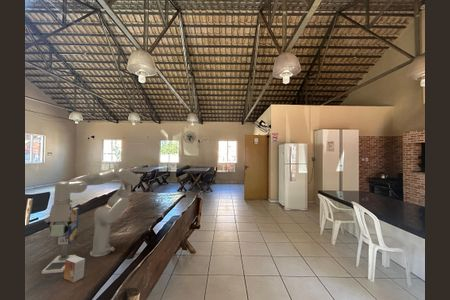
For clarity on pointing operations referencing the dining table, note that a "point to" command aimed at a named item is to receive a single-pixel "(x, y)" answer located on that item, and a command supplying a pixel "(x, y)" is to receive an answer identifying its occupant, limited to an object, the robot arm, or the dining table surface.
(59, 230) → the green slotted box
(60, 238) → the juice carton
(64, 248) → the post board
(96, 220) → the robot arm
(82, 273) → the small box
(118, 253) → the dining table surface
